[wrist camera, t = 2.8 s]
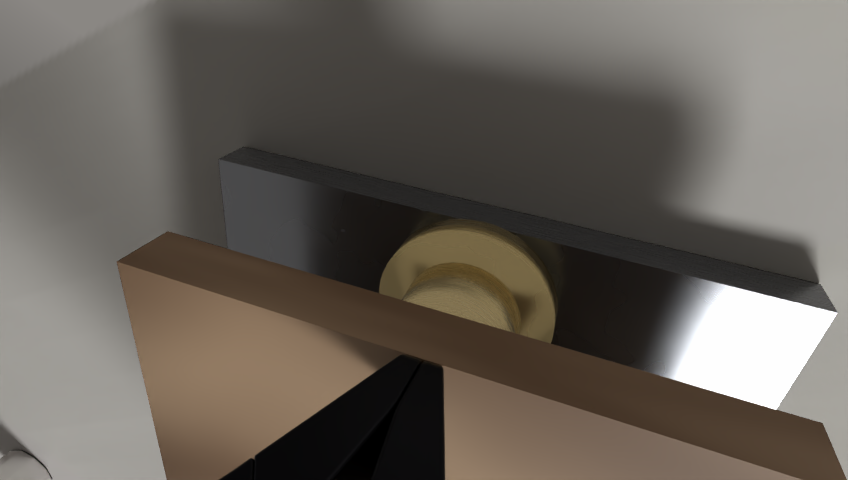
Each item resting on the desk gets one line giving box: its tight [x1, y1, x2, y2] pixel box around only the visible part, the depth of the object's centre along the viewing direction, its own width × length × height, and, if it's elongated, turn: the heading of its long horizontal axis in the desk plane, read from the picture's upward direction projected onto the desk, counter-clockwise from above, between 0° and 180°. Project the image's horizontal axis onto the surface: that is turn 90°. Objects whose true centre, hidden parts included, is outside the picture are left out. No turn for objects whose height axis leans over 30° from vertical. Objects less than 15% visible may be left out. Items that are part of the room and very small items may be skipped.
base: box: [219, 147, 838, 410], centre depth 16 cm, size 16×16×4 cm
